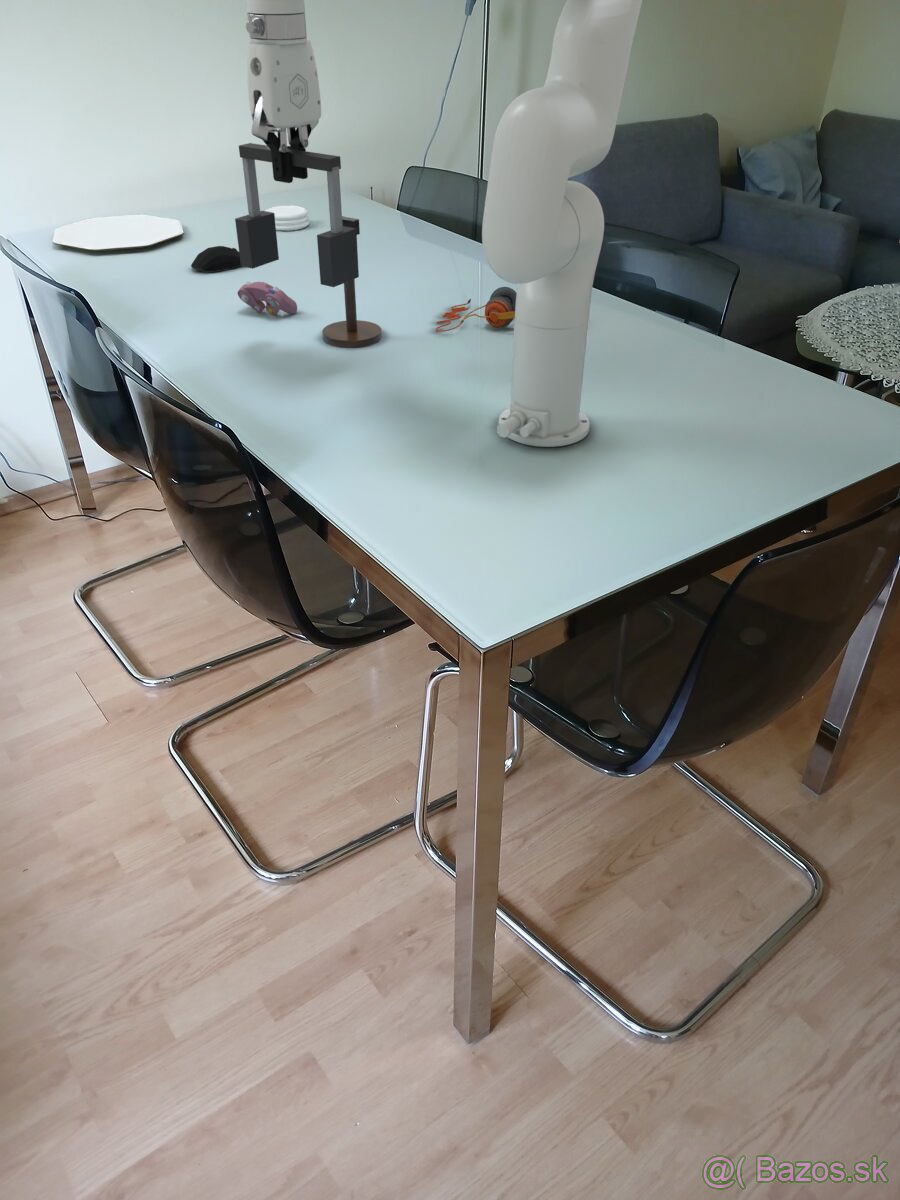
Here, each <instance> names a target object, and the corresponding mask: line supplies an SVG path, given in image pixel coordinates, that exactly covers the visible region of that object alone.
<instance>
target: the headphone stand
mask: <svg viewBox="0 0 900 1200" xmlns="http://www.w3.org/2000/svg"><path fill="white" fill-rule="evenodd" d="M342 226H345V227H350V228H356V231H357V236H358V235H360V234H361V230H360V219H359V218H354V217H350V216H349V217H348V216H343V215H342ZM355 279H356V278H355ZM355 279H353V280H350V281H348V282H346V283H343V293H344V295H343V296H344V308H345V320H340V321H336V322H332V323H329V324H328V325H326V326H324V328H322V331H321V332H322V340H323V341H324V342H325V343H326V344H328V345H330V346H333V347H337V348H347V349H351V348H352V349H353V348H354V349H355V348H363V347H369V346H373V345H374V344H377V343H378V342H380V341H381V340H382V337H383V330H382V328H381V326H380V325H379V324H377V323H375V322H372V321H367V320H360V319H359V320H358V317H357V316H358V315H357V299H356V297H357V296H356V280H355Z"/></svg>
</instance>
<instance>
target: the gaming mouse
mask: <svg viewBox="0 0 900 1200" xmlns="http://www.w3.org/2000/svg"><path fill="white" fill-rule="evenodd" d="M237 249H238V248H236V247H228V246H224V245H216V246H211V247H207V248H206V249H204V250H203V251H200V252H199V253H198V254H197V255H196V256H195V258H194V259H193V261H192V263H191V264H190V267H191V268H192V269H193V270H195V271H197V272H198V271H199V272H204V273H215V272H216V273H217V272H222V271H227V270H231V269H236V268H241V267H242V266H241V262H240V254H239V250H237Z"/></svg>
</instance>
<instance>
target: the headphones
mask: <svg viewBox="0 0 900 1200" xmlns="http://www.w3.org/2000/svg"><path fill="white" fill-rule="evenodd" d="M516 295H517V291H516V290H515V289H513V288H511V287H508V286H501V287H500V286H499V287H498V288H496V289H495V290H494V291H493V292H492V293H491V295H490V297H489V300H488V301H487V302H486V304H484V305H482V306H480V307H478V308H474V309H473V310H471V311H470V312H468V313H467V314H466V315H464V317H463V318H462V316H461V315H460V313H459V312H465V311H468V310H469V308H468V307H466V305H470V304H471V301H472V299H471V298H469V299H468V300H467V302H466V303H462V304H457V305H453V306H450V310H451V311H447V312H444V314H443V315H441V317H442V318H447V319H443V320H438V321H436V324H442V325H440V326H437V327H436V328H435V332H441V333H442V332H449V331H453V330H455V329H457V328H459V327H460V326H461V325H462V324H463V323H464V322H465V320H467V319H468V318H470V317H472V316H476V317H478V318H481V319H482V318H484V319H485V320H486V322H487V323H488V324H489V325H490V326H492V327H493V328H505V327H508V326H509V325H510V324H511V323H512V322H513V321H514V320H515V306H516ZM483 308H484V315H479V314H477V313H474V312H475V311H478V310H481V309H483ZM460 318H462V319H461V321H460V323H459V324H458V325H456V326H454V327H451V328H448V329H441V330H440V328H442V327H446V326H448V325H451V324H452V321H455V320H458V319H460Z"/></svg>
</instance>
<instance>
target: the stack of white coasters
mask: <svg viewBox="0 0 900 1200" xmlns="http://www.w3.org/2000/svg"><path fill="white" fill-rule="evenodd" d="M265 211H267V212H272V213H274V216H275V225H276V231H279V232H280V231H281V232H290V231H298V230H303V229H306V228H307V227H308V226H309V215H308V214H309V211H308V209H307V208H305V207H303V206H299V205H277V206H272V207H269V208H267V209H265Z"/></svg>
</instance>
